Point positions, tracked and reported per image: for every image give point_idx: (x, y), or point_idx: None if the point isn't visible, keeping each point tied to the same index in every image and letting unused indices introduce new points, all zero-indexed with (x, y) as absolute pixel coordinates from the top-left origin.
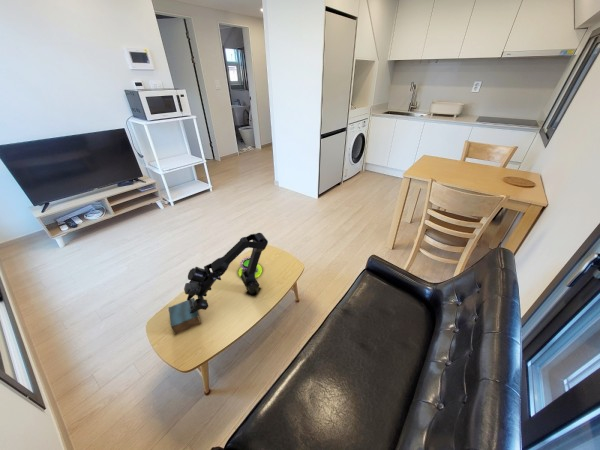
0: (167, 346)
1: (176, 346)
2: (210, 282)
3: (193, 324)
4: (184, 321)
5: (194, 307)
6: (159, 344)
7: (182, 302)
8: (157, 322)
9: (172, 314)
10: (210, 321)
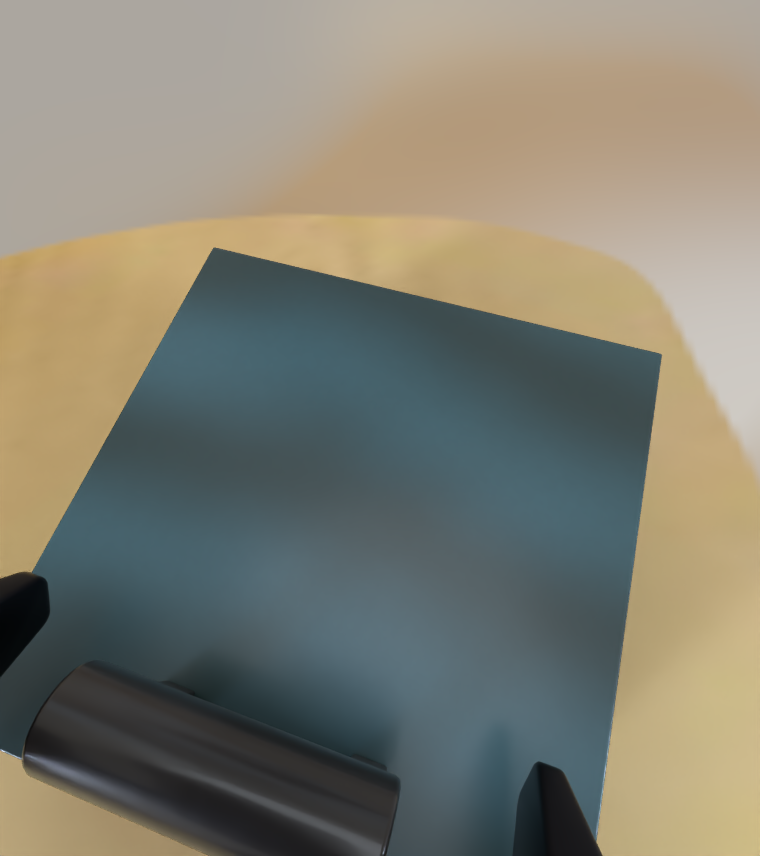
0: None
1: (138, 323)
2: None
3: None
4: (121, 434)
5: None
6: (305, 230)
7: (611, 627)
8: (599, 297)
9: (434, 343)
10: (23, 825)
